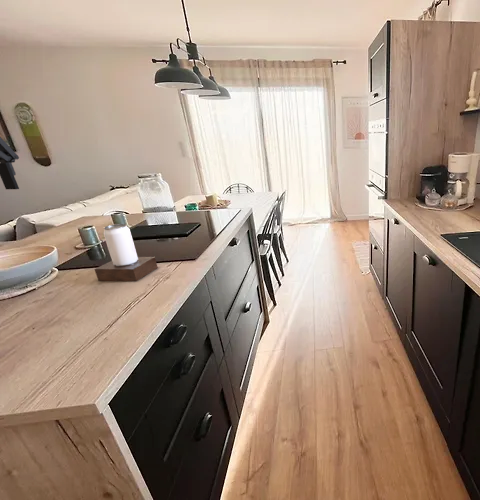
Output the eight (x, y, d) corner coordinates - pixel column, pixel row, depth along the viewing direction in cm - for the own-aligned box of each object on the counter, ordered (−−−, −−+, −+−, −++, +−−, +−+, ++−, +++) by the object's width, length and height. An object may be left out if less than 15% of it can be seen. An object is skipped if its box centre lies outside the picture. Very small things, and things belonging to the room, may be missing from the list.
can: (119, 268, 87) (107, 230, 83) (109, 263, 90) (97, 227, 86) (142, 261, 92) (132, 225, 88) (132, 257, 95) (122, 222, 91)
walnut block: (98, 280, 88) (94, 269, 87) (123, 267, 97) (119, 256, 96) (136, 281, 88) (133, 269, 86) (157, 267, 97) (154, 256, 96)
